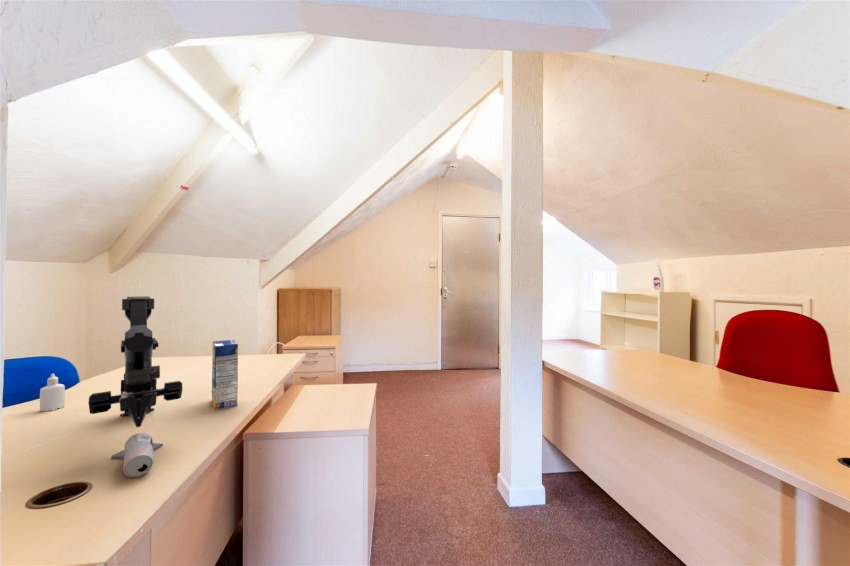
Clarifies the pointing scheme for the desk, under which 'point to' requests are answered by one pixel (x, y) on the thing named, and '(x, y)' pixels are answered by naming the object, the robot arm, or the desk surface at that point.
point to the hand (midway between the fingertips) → (138, 426)
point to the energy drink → (138, 455)
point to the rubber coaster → (121, 454)
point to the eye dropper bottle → (52, 395)
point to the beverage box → (224, 374)
